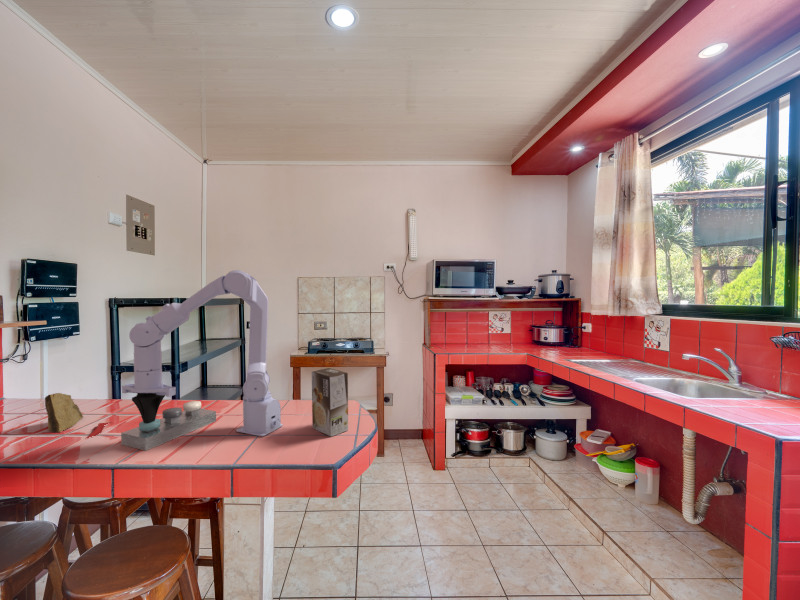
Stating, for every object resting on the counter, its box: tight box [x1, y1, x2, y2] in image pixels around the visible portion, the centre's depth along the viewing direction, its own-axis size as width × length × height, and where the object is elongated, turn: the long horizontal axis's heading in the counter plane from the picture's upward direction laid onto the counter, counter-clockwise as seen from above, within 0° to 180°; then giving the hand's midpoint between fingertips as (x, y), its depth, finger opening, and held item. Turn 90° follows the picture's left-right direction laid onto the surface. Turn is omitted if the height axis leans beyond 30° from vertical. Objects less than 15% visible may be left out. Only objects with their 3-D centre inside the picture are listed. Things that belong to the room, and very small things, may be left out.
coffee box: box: [311, 367, 349, 437], centre depth 97 cm, size 9×6×16 cm
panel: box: [120, 408, 217, 452], centre depth 95 cm, size 9×20×3 cm, turn 159°
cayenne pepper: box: [86, 421, 113, 439], centre depth 96 cm, size 12×5×2 cm, turn 2°
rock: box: [44, 392, 84, 433], centre depth 100 cm, size 11×9×10 cm
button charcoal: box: [161, 407, 183, 424], centre depth 95 cm, size 4×4×4 cm
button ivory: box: [182, 400, 202, 416], centre depth 100 cm, size 4×4×4 cm
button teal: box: [138, 418, 161, 433], centre depth 89 cm, size 4×4×4 cm
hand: (149, 422), depth 89 cm, fingers closed, pressing on button teal
